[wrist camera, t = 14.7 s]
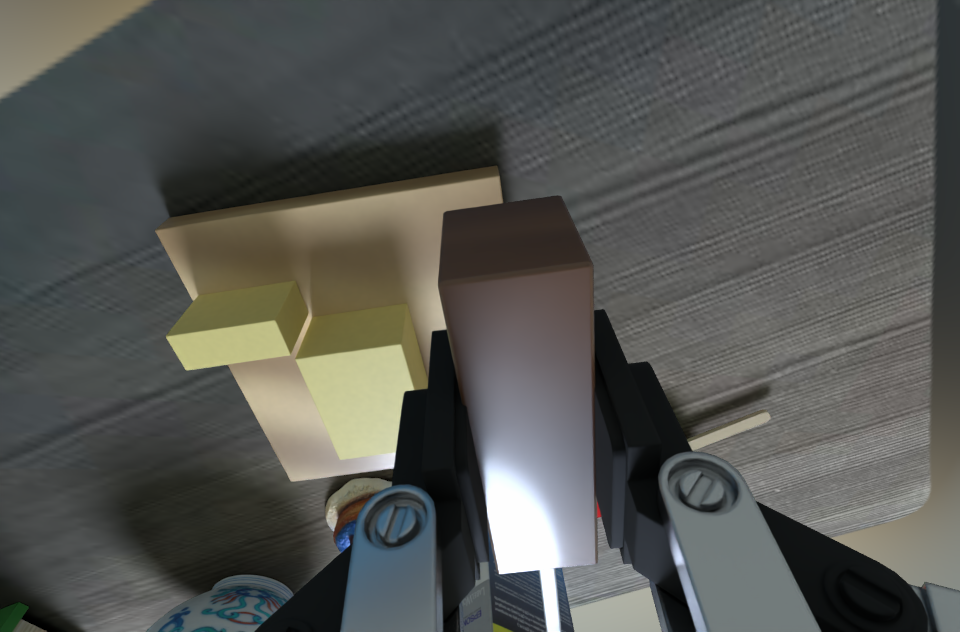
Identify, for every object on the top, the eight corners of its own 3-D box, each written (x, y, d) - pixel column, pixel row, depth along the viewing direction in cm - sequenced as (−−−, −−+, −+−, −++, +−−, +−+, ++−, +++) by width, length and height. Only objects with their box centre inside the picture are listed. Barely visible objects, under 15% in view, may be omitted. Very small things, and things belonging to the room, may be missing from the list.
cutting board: (169, 217, 25) (154, 230, 24) (497, 164, 24) (499, 175, 23) (296, 464, 35) (290, 482, 34) (532, 432, 34) (535, 450, 33)
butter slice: (197, 295, 26) (164, 336, 23) (295, 279, 25) (274, 319, 22) (215, 327, 27) (185, 371, 24) (309, 313, 26) (291, 355, 24)
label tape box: (447, 524, 39) (444, 719, 29) (485, 499, 38) (496, 695, 27) (525, 567, 43) (547, 754, 33) (562, 546, 41) (598, 735, 31)
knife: (442, 210, 10) (436, 283, 8) (561, 193, 10) (594, 262, 8) (519, 631, 20) (528, 727, 17) (582, 625, 19) (600, 721, 17)
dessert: (356, 467, 34) (389, 556, 32) (426, 453, 39) (459, 529, 37) (297, 518, 38) (322, 602, 35) (369, 500, 43) (395, 571, 40)
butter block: (312, 316, 27) (294, 358, 24) (407, 302, 26) (401, 343, 23) (350, 414, 30) (339, 460, 28) (434, 402, 30) (431, 448, 27)
